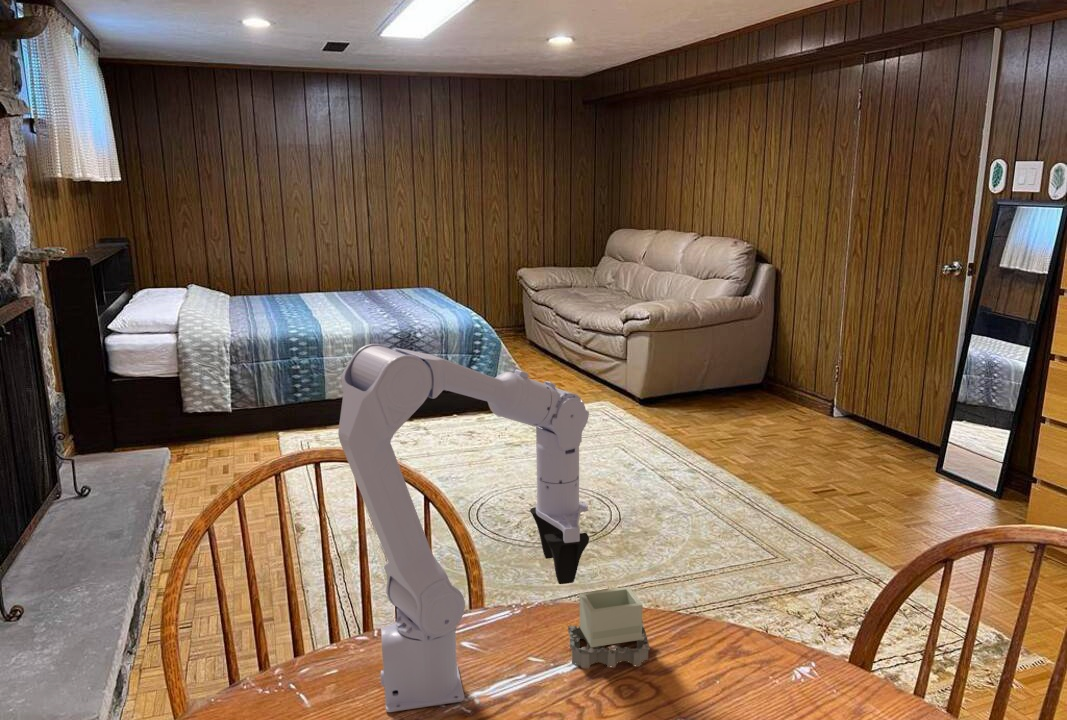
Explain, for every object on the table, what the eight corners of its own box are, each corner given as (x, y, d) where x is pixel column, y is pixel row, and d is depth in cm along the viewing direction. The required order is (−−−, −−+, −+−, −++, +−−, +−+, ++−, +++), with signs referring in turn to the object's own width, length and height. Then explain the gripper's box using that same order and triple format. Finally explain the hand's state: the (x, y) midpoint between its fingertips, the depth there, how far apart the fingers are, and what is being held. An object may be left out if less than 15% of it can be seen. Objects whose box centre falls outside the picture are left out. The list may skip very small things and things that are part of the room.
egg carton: (644, 639, 111) (644, 613, 110) (651, 671, 103) (651, 643, 102) (567, 639, 111) (567, 613, 110) (569, 671, 103) (569, 643, 103)
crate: (591, 647, 102) (591, 612, 101) (579, 627, 107) (579, 593, 106) (641, 639, 104) (642, 604, 103) (628, 619, 109) (628, 586, 108)
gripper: (602, 492, 100) (602, 590, 103) (572, 456, 114) (572, 543, 117) (548, 498, 99) (549, 597, 102) (524, 460, 113) (526, 549, 116)
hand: (558, 569), depth 109 cm, fingers open, 7 cm apart
